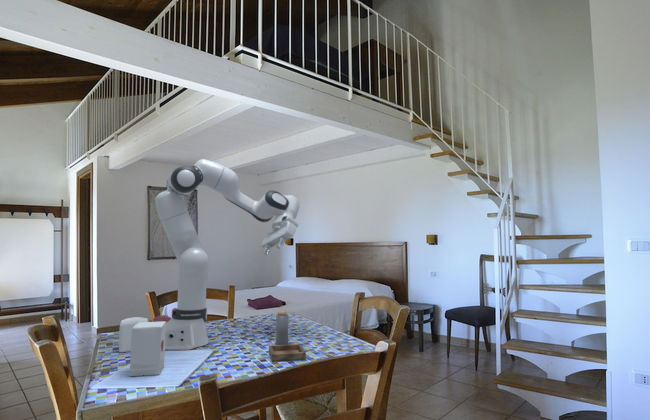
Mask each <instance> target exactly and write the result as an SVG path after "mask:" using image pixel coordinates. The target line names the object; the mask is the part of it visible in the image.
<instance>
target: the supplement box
mask: <svg viewBox="0 0 650 420" xmlns="http://www.w3.org/2000/svg"><path fill="white" fill-rule="evenodd" d="M165 330H166V321H160V322H152V321H148V322H139V323H138V324H136V325H135V326H134V327H133V328H132V337H131V351H130V361H129V363H130V364H129V377H143V375H144V376H159V375H160V374H161V373H162V370H163V369H164V368H165V353H166V350H165ZM158 374H159V375H158Z"/></svg>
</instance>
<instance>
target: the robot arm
mask: <svg viewBox="0 0 650 420" xmlns="http://www.w3.org/2000/svg"><path fill="white" fill-rule="evenodd" d="M199 186H206V187H208V188H210V189H212V190H214V191H216V192H218V193H219V194H221V195H222V196H223V198H225V199H226V200H227V201H228V202H230V203H232V204H234V205H235V206H236V207H238V208H240V209H242V210H243V211H245V212H247V213H249V214H250V216H252V217H254V219H255V220H257V221H258V222H261V223H267V222H269V221H271V220H272V219H273V218H274V220H273V221H272V224H271V228H272V230H270V231H269V232H267V233H266V234H265V236H264V238H263V240H262V242H261V244H260V246H261V248H263V249H264V251H263V254H264V255H266V256H268V255H269V254H270V252H271V251H270V249H272V248H274V247H276V248H277V249H278V250H280V249H282V248H283V245H284V244H285V243H286V242H287V240H289V239H291V238H293V237H294V235H295V233H296V231H297V228H298V226H299V225H300V224H299V222H298V221H296V218H297V216H298V215H299V214H298V213H299V210H300V201H299V200H298V198H297V197H296V196H294V195H291V194H287V195H286V194H282V193H280V192H279V191H277V190H275V189H274V190H273V189H272V190H268V191H267V192H266V193H265V194H264V195H263V196H262V197H261V198H260V199H259V200H255V199H254V200H253V199H252V198H250V197H249V196H247V195H246V194H244V193H242V192H241V190H240V188H239V186H240V185H239V177H238V174H237V173H236V172H235V171H234V170H232V169H230V168H229V167H227V166H224V165H223V164H220V163H218V162H216V161H212V160H210V159H209V160H208V159H205V158H202V159H199V160H197V161H196V162H195V163H194V165H190V166H189V165H188V166H187V165H186V166H184V165H183V166H179V167H177V168H175V169H174V170H173V171H172V172H171V173H170V174H169V176H168V178H167V182H166V187H165V190H163V191H162V192H159V193H158V194H157V195H156V196H155V199H154V204H155V208H156V212H157V214H158V218H159V220H160V223H161V225H162V228H163V230H164V232H165V235H166V237H167V239H168V242H169V243H170V246H171V248H172V251H173V253H174V255H175V258H176V261H177V263H178V265H179V267H178V281H177V282H178V283H177V305H176V306H177V307H174V308H172V310H171V320H169V321H168V322H167V323H166V330H165V351H167V350H169V351H172V350H174V351H175V350H177V351H181V350H182V351H183V350H184V351H185V350H186V351H188V350H193V349H195V348H199V347H202V346H205V345H208V344H209V342H210V341H209V337H208V332H207V331H208V329H207V318H208V309H207V286H208V285H207V284H208V274H209V263H210V261H209V255H208V254H207V253H206V251H205V250H204V249H203V247H202V244H201V242H200V239H199V236H198V234H197V233H198V232H197V230H196V228H195V225H194V223H193V221H192V218H191V216H190V214H189V212H188V208H187V207H186V204H185V197H186V196H188V195H190V194H191V193H193V192H194V191H195V190H196V189H197V188H198V187H199ZM274 216H275V217H274Z"/></svg>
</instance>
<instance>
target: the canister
mask: <svg viewBox="0 0 650 420" xmlns="http://www.w3.org/2000/svg"><path fill="white" fill-rule="evenodd" d="M289 319H290V318H289V314H288V311H287V310H285V309H278V310H277V314H276V316H275V345H289Z"/></svg>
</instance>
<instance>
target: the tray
mask: <svg viewBox="0 0 650 420" xmlns="http://www.w3.org/2000/svg"><path fill="white" fill-rule="evenodd" d="M268 353H269V358H270V359H271V360H270V361H271V362H272V363H274V362H275V363H276V362H279V363H280V362H295V361H306V360H307V352H306V351H305V348H303V346H302V345H301V343H296V344H295V343H293V344H288V345H276V344H274V345H270V344H269V345H268Z"/></svg>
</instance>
